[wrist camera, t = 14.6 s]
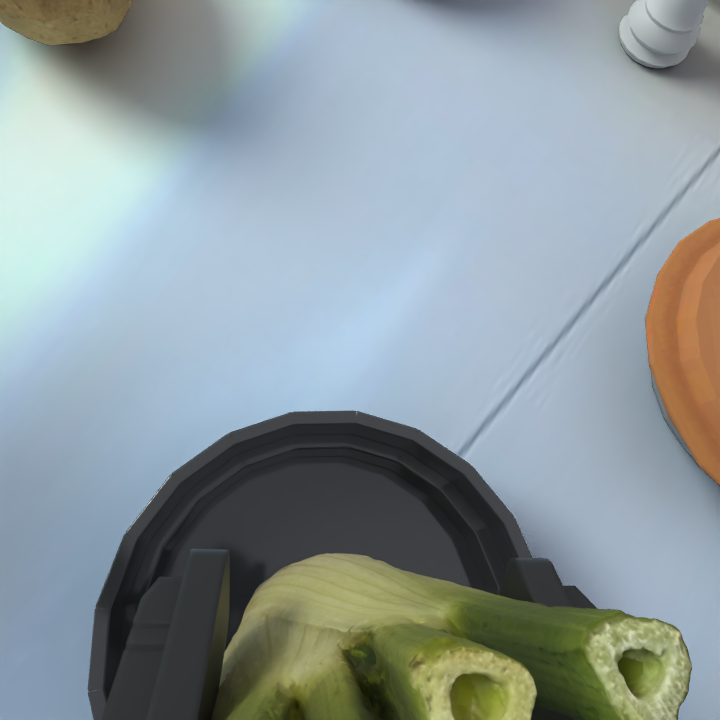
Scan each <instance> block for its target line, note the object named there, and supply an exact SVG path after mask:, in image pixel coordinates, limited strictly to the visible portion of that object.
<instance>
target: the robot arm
mask: <svg viewBox="0 0 720 720" xmlns="http://www.w3.org/2000/svg"><path fill="white" fill-rule="evenodd" d="M229 592H230V551H229V550H225V549H191V550H190V552H189V556H188V560H187V563H186V567H185V571H184V575H183V577H159V578H158V579H157V580H156V581H155V582H154V584H153V585H152V586H151V587H150V588H149V589H148V591H147V592H146V593H145V594H144V595H143V596H142V598H141V600H140V603H139V606H138V609H137V612H136V615H135V618H134V621H133V626H132V629H131V630H130V633H129V636H128V639H127V642H126V648H125V650H124V651H123V654H122V657H121V661H120V664H119V667H118V670H117V673H116V676H115V679H114V682H113V685H112V688H111V691H110V694H109V697H108V700H107V703H106V706H105V709H104V712H103V715H102V718H101V720H211V718H212V714H213V711H214V707H215V703H216V699H217V695H218V691H219V685H220V678H221V672H222V665H223V659H224V652H225V646H226V639H227V631H228V620H229ZM499 596H503V597H507V598H510V599H514V600H520V601H528V602H531V603H540V604H543V605H546V606H547V607H554V606H559V607H562V606H563V607H574V608H583V609H585V608H590V609H597V608H596V607H595V606H594V605H593V604H592V603H591V602H590V601H589V600H588V599H587V598H586V597H585V596H584V595H583V594H582V593H581V592H580V591H579V590H578V589H577V588H576V587H575V586H563V585H562V583H561V581H560V579H559V577H558V575H557V573H556V571H555V568H554V566H553V565H552V563H551V562H550V561H549V560H548V559H543V558H510V559H509V561H508V563H507V565H506V569H505V573H504V577H503V580H502V584H501V588H500V592H499ZM531 720H575V719H573V718H571V717H569V716H567V715H564V714H561V713H558V712H555V711H552V710H548V709H545V708H542V707H539V706H537V705H535V704H534V708H533V710H532V716H531Z"/></svg>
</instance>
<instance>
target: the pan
mask: <svg viewBox="0 0 720 720" xmlns="http://www.w3.org/2000/svg"><path fill="white" fill-rule="evenodd" d="M191 549H225V550H229V551H230V592H229V620H228V631H227V639H226V646H225V650H226V649H227V647H228V645H229V643H230V642H231V640H232V637H233V636H234V634H235V633H236V632H237V631H238V628H239V626H240V624H241V621H242V618H243V614H244V611H245V609H246V607H247V605H248V603H249V602H250V600H251V598H252V596H253V594H254V592H255V591H256V589H257V588H258V587H259V586H260V585H261V584H262V583H263V582H264V581H266V580H267V579H269V578H270V577H271V576H273V575H274V574H275V573H276V572H277V571H278V570H280V569H281V568H283V567H285V566H287V565H290V564H292V563H295V562H300V561H302V560H305V559H307V558H310V557H314V556H316V555H320V554H326V553H328V554H333V553H339V554H341V553H343V554H357V555H364V556H368V557H371V558H372V559H374V560H380V561H384V562H386V563H387V564H389V565H391V566H393V567H395V568H398V569H401V570H403V571H409V572H412V573H415V574H419V575H423V576H427V577H431V578H435V579H440V580H445V581H450V582H453V583H456V584H458V585H461V586H466V587H470V588H474V589H478V590H482V591H485V592H488V593H492V594H495V595H499V592H500V588H501V584H502V580H503V577H504V573H505V569H506V565H507V563H508V561H509V559H510V558H532V556H531V554H530V552H529V549H528V547H527V545H526V542H525V540H524V538H523V536H522V533H521V531H520V529H519V526H518V524H517V522H516V519H515V518H514V516H513V515H512V513H511V512H510V511H509V510H508V509H507V507H506V506H505V505H504V504H503V503H502V501H501V500H500V499H499V498H498V497H497V495H496V494H495V493H494V492H493V490H492V489H491V488H490V487H489V486H488V484H487V483H486V482H485V481H484V480H483V478H482V477H481V476H480V475H479V474H478V472H477V471H476V470H475V469H474V467H473V466H471V465H470V464H469V463H468V462H466V461H465V460H463V459H462V458H460V457H459V456H457V455H456V454H454V453H453V452H451V451H450V450H448V449H447V448H445V447H444V446H442V445H441V444H439V443H438V442H436V441H435V440H433V439H432V438H430V437H429V436H427V435H426V434H424V433H423V432H421V431H420V430H417V429H416V428H413V427H409V426H406V425H403V424H399V423H396V422H393V421H389V420H386V419H382V418H379V417H376V416H372V415H369V414H366V413H362V412H359V411H357V412H356V411H307V412H290V413H287V414H284V415H281V416H278V417H275V418H272V419H269V420H266V421H263V422H260V423H257V424H254V425H251V426H248V427H245V428H242V429H239V430H236V431H233V432H230V433H229V434H226V435H225V436H224V437H222V438H221V439H219V440H218V441H217V442H215V443H214V444H212V445H211V446H209V447H208V448H207V449H205V450H204V451H202V452H201V453H200V454H198V455H197V456H195V457H194V458H193V459H191V460H190V461H188V462H187V463H186V464H184V465H183V466H181V467H180V468H179V469H177V470H176V471H174V472H173V473H172V475H170V476H169V477H168V478H167V480H166V481H165V482H164V484H163V485H162V486H161V487H160V489H159V490H158V491H157V492H156V494H155V495H154V496H153V498H152V499H151V500H150V501H149V503H148V504H147V505H146V507H145V508H144V509H143V510H142V512H141V513H140V514H139V515H138V517H137V518H136V519H135V521H134V522H133V523H132V524H131V526H130V527H129V528H128V530H127V531H126V534H124V536H123V539H122V541H121V544H120V546H119V549H118V551H117V554H116V556H115V559H114V561H113V564H112V566H111V569H110V571H109V574H108V576H107V579H106V581H105V584H104V586H103V589H102V591H101V594H100V596H99V599H98V601H97V604H96V608H95V613H94V624H93V635H92V647H91V658H90V669H89V680H88V691H89V692H88V696H89V701H90V705H91V710H92V714H93V719H94V720H101V718H102V715H103V712H104V709H105V706H106V703H107V700H108V697H109V694H110V691H111V688H112V685H113V682H114V679H115V676H116V673H117V670H118V667H119V664H120V661H121V657H122V654H123V651H124V650H125V648H126V642H127V639H128V636H129V633H130V630H131V629H132V626H133V621H134V618H135V615H136V612H137V609H138V606H139V603H140V600H141V598H142V596H143V595H144V594H145V593H146V592H147V591H148V589H149V588H150V587H151V586H152V585H153V584H154V582H155V581H156V580H157V579H158V578H159V577H183V575H184V571H185V567H186V563H187V560H188V556H189V552H190V550H191Z"/></svg>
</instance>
